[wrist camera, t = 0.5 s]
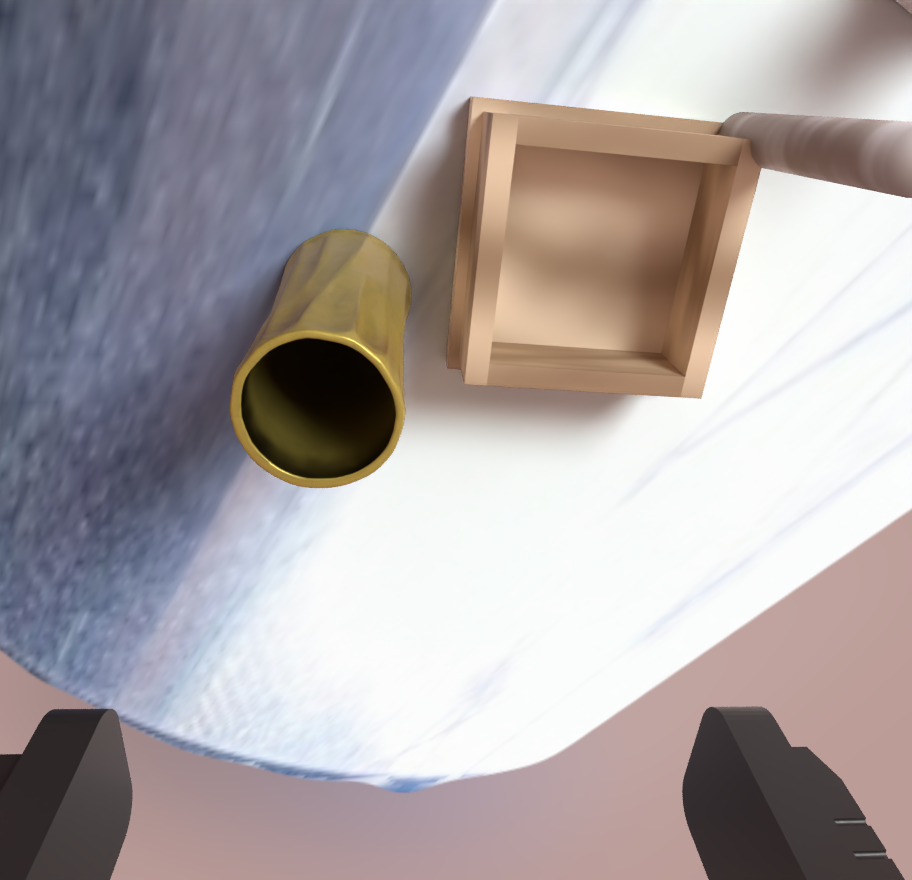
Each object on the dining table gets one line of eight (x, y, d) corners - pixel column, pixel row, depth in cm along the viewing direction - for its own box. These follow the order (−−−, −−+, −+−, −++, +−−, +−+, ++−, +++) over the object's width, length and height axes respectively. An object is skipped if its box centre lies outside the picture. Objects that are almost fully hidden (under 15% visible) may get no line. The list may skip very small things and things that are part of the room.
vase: (341, 199, 32) (305, 269, 19) (437, 292, 34) (462, 411, 22) (255, 294, 34) (169, 417, 21) (352, 378, 36) (328, 536, 23)
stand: (471, 83, 31) (519, 78, 19) (755, 114, 32) (966, 126, 20) (446, 360, 36) (470, 491, 24) (689, 375, 37) (825, 507, 26)
